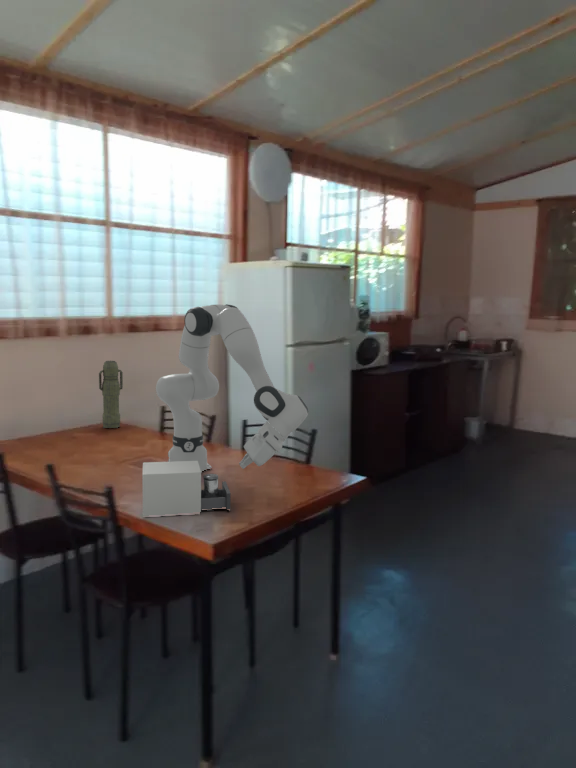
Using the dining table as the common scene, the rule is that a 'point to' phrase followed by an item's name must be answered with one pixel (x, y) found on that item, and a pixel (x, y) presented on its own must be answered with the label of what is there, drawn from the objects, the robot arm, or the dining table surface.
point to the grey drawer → (217, 499)
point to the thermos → (111, 394)
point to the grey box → (171, 487)
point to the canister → (210, 485)
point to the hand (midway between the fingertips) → (240, 466)
